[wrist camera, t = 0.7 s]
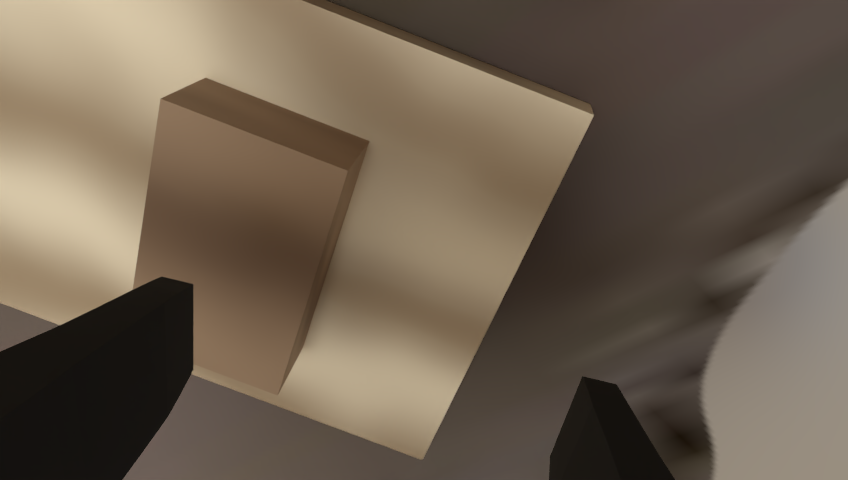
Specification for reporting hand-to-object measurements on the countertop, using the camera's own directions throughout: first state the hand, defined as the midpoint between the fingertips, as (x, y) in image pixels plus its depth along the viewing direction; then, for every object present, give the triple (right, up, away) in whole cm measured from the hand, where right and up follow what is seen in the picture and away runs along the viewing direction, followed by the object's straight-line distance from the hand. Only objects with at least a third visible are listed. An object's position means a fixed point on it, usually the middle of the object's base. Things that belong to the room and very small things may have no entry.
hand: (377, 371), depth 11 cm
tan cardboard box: (-4, +3, +8) cm, 10 cm away
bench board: (-8, +5, +9) cm, 13 cm away
